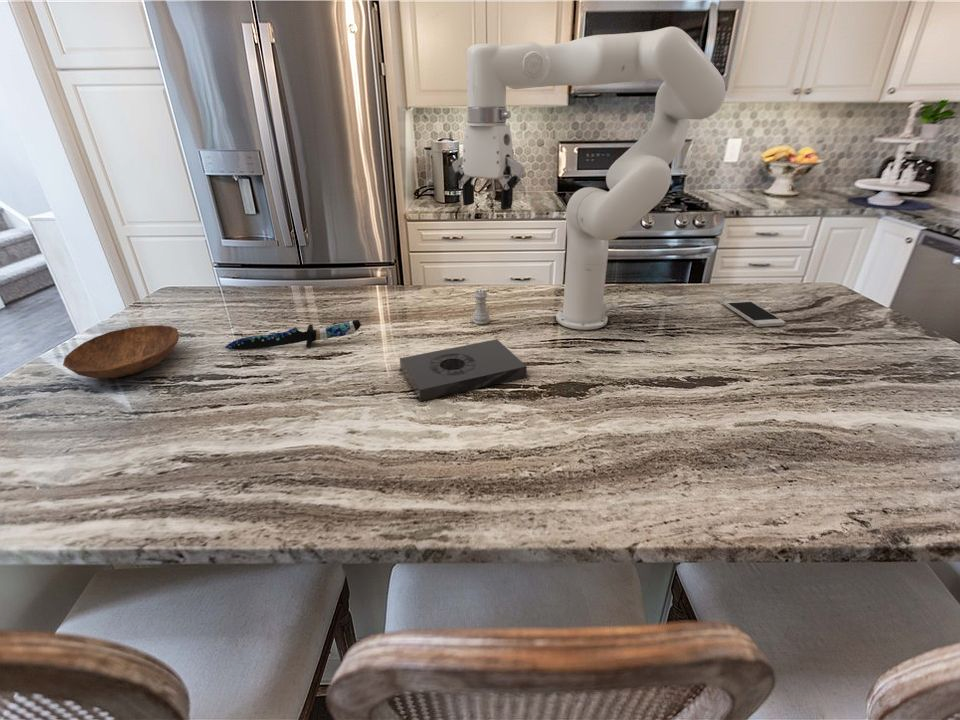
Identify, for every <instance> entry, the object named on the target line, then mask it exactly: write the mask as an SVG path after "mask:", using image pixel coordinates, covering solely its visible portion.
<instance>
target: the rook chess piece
mask: <svg viewBox="0 0 960 720" xmlns="http://www.w3.org/2000/svg"><path fill="white" fill-rule="evenodd" d="M473 297H475V301H474V302H475V310H474V312H473V314H472V322H473V323H474V324H475V325H479V326H481V325H487V324H489V322H490V321H491V319H490V314H489V311H488V310H487V299H486V298H487V297H488V294H487V290H485V289H483V290H482V289H476V290H475V292H474V294H473Z"/></svg>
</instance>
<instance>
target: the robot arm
mask: <svg viewBox="0 0 960 720" xmlns="http://www.w3.org/2000/svg"><path fill="white" fill-rule="evenodd" d="M652 80H662V81H663V82H662V84H660V86H659V87H658V90H657V92H656V95H655V99H654V101H655V102H654V115H653V119H652V123H651V125H650V127H649V128H648V130H647V131H646V132H644V134H643V135H642V136H641V137H640V138H639V139H638V140H637V141H636V142H635V143H634V144H632V146H630V147H629V148H628V149H627V150H626V151H625V152H624V153H623V154H621V156H620V157H618V158H616V160H615V161H614V162H613V163H612V164H611V165H610V167H609V168H608V170H607V172H606V176H605V182H606V187H607V188H608V189H609V190H605V189H602V188H599V187H592V186H587V187H582V188H579V189H578V190H576V191H575V192H574V193H573V194H572V195H571V197H570V198H569V200H568V202H567V205H566V209H565V224H566V225H565V226H566V256H565V257H566V259H565V274H564V286H563V287H564V289H563V305H562V309H561V310H559V311H558V312H557V313H556V315H555V320H556V322H557V323H558V324H559V325H561V326H563V327H565V328H569V329H572V330H579V331H590V330H591V331H592V330H597V329H601V328H603V327H605V326H606V325H607V324H608V320H609V318H608V315H607V313H608V312H609V311H616V310H618V309H619V307H620V306H619V303H618V302H617V301H613V302H608V300H604V298H605V296H604V295H605V288H606V278H607V277H606V276H607V267H608V258H609V241H612V240H616V239H617V238H620V237H621V236H622V235H624V234H626V233H627V232H628V231H629V230H630V229H631V228H632V227H634V226H635V225H636V224H638V222H639V221H640V220H641V219H642V218H644V217H645V216H646V215H648V213H649V212H651V211H652V209H653V210H654V208H655V207H656V206H657V205H658V204H659V203H660V202H661V201H662V200H663V199H664V197H665V196H666V195H667V193H668V191H669V189H670V186H671V184H672V171H671V168H670V166H669V165H670V164H671V163H672V162H673V161H674V160H675V159H676V158H677V157H678V155H679V154H680V153H681V151H682V150H683V148H684V145H685V143H686V139H687V133H688V126H689V120H703V119H704V120H705V119H708V118H710V117H711V116H713V115H715V114H716V113H717V112H718V111H720V108H721V107H722V105H723V104H724V102H725V98H726V90H727V89H726V83H725V81H724V80H725V79H724V78H723V76H722V74H721V73H720V71H719V70H718V69H717V67H715V65H714V63H713V62H712V61H711V60H710V59H709V57H708V56H707V55H706V54H705V52H704V51H703V50H702V48H701V47H700V46H699V45H698V44H697V43H696V41H695V40H694V39H693V38H692V37H691V36H690V35H689V34H688V33H687V32H686V31H685V30H683V29H682V28H680V27H677V26H666V27H663V28H658V29H655V30H648V31H638V32H636V31H635V32H628V33H627V32H626V33H625V32H624V33H612V34H611V33H610V34H607V33H606V34H593V35H587V36H583V37H579V38H576V39H573V40H570V41H565V42H560V43H559V42H558V43H552V44H545V45H541V44H540V43H537V42H533V41H525V42H519V43H512V44H499V43H488V42H487V43H476V44H472V45H470V46H468V49H467V51H466V94H467V99H466V100H467V101H466V102H467V125H465V129H464V134H463V142H462V143H463V145H462V156H461V157H459V158H458V159H456V160H454V161H453V162H452V163H451V166H452V169H453V171H454V173H455V177H456V179H457V180H458V181H459V185H460V186H461V187H462V202H463V203H462V205H463V206H470V205H473V204H475V185H474V184H472V183H473V182H474V180H475V178H476V179H487V180H498V182H499V183H500V185H501V186H502V188H503V189H501V190H500V209H501V210H502V211H506V210H508V209H511V208H512V207H513V206H512V205H513V203H514V202H513V201H514V200H513V197H514V194H513V193H514V189H515V188H516V186H517V184H518V183H520V181H521V178H522V176H523V174H524V172H525V166H524V165H522V164H521V163H520V162H519V161H517V160H515V159H514V149H513V148H514V147H513V139H512V138H513V137H512V132H511V128H510V125H509V124H506V123H507V120H508V119H510V118H511V117H512V113H511V111H510V110H507V107H506V106H507V88H509V89H511V90H524V89H532V88H533V89H534V88H535V89H536V88H543V87H544V88H545V87H546V88H547V87H558V86H571V87H572V86H573V87H586V86H587V87H588V86H598V85H600V86H601V85H608V84H620V83H621V84H622V83H634V82H645V81H652Z"/></svg>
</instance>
